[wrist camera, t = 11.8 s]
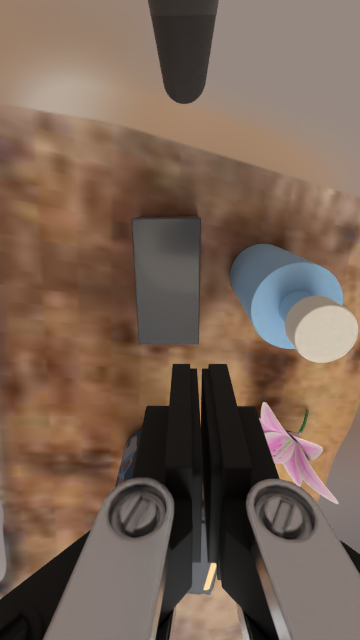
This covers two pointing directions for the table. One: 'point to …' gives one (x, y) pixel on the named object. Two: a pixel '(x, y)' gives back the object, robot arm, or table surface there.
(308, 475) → the lily
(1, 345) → the table surface
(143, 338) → the block
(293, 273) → the bottle
